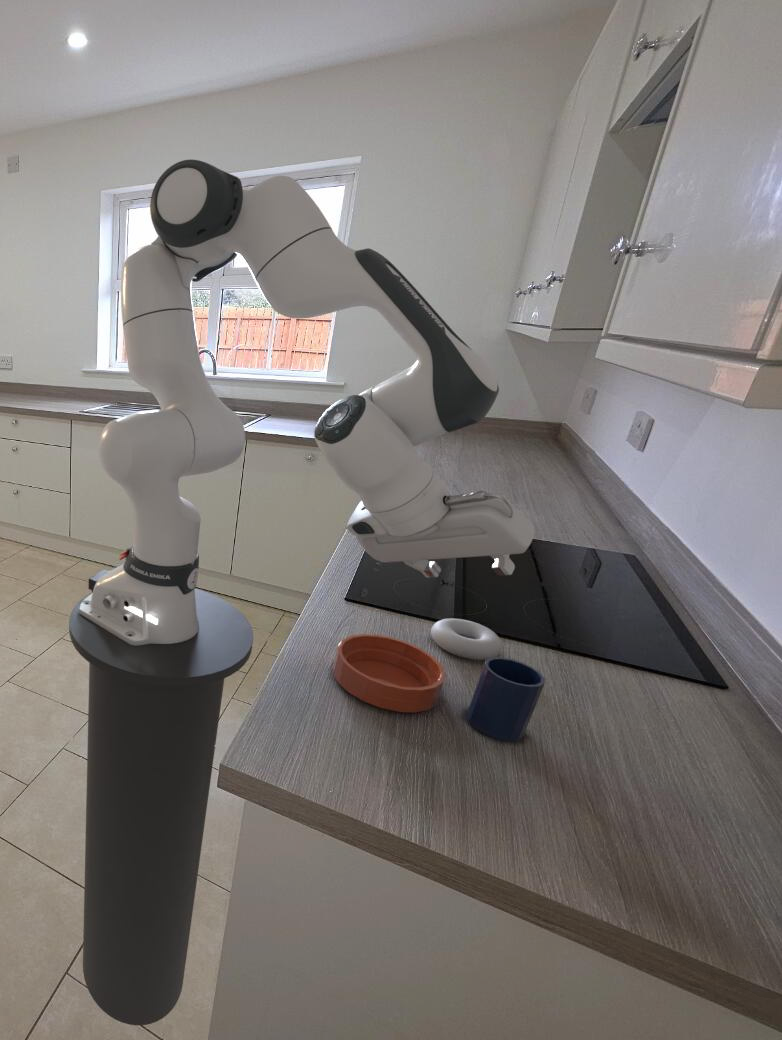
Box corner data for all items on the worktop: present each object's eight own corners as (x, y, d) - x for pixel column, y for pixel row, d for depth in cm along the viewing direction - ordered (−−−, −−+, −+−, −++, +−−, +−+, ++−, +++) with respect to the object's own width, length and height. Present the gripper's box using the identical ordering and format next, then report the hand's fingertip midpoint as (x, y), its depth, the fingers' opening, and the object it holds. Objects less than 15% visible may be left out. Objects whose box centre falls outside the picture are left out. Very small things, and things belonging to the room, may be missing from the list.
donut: (487, 637, 99) (422, 626, 102) (493, 620, 97) (428, 610, 100) (507, 670, 90) (436, 657, 93) (514, 652, 89) (442, 639, 92)
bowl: (320, 688, 85) (325, 663, 84) (346, 647, 96) (352, 624, 94) (427, 730, 77) (436, 703, 75) (444, 680, 87) (452, 656, 85)
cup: (463, 727, 78) (482, 673, 74) (469, 703, 82) (487, 651, 79) (521, 748, 74) (544, 693, 70) (524, 723, 78) (545, 669, 75)
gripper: (506, 469, 65) (568, 549, 68) (354, 498, 83) (408, 560, 86) (487, 508, 63) (551, 589, 66) (336, 529, 81) (391, 591, 84)
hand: (468, 572), depth 76 cm, fingers open, 8 cm apart
